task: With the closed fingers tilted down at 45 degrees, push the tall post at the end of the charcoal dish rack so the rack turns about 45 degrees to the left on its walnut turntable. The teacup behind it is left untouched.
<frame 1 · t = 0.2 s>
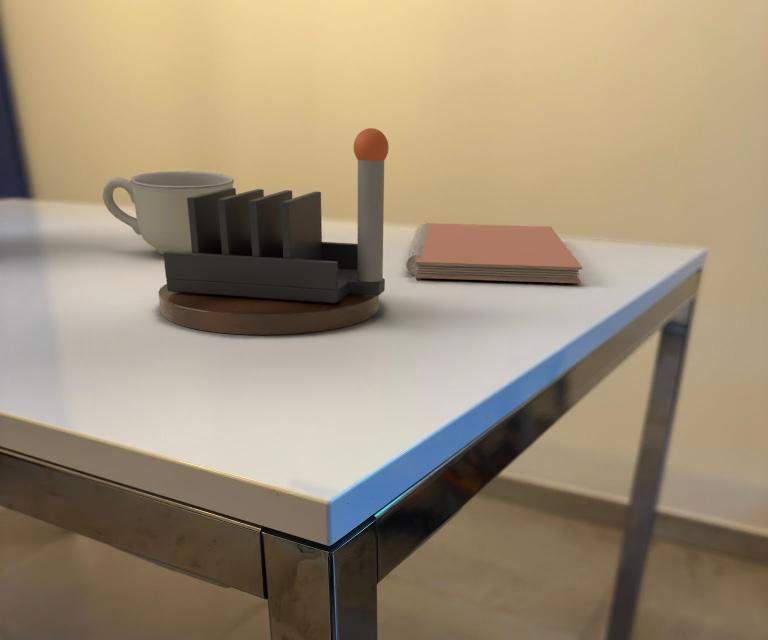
notebook: (486, 259, 87), on the table
turntable: (271, 306, 65), on the table
teacup: (176, 254, 87), on the table
dish rack: (283, 209, 61), point 8 cm above the table, hinge at 0.0°
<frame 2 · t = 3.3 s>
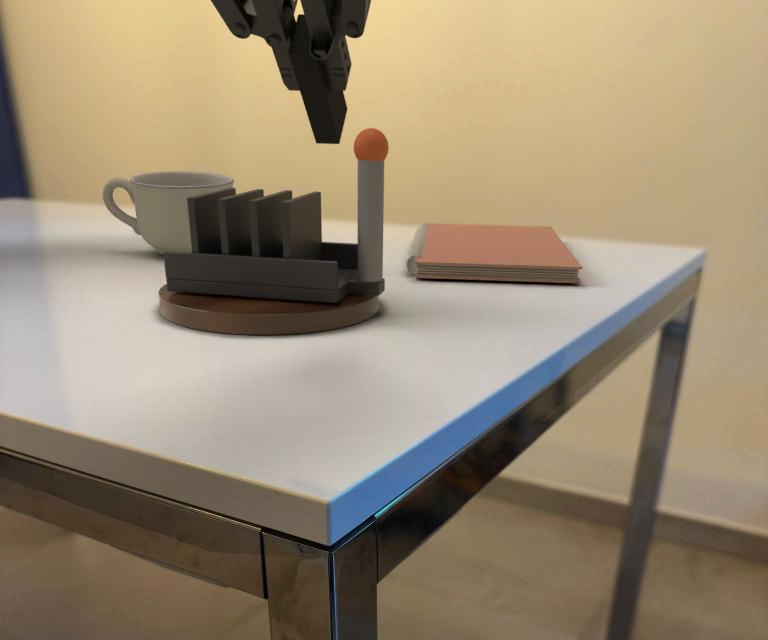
hand: (331, 125, 48), 14 cm above the table, tool tilted 45°, fingers closed
nothing on the table moved.
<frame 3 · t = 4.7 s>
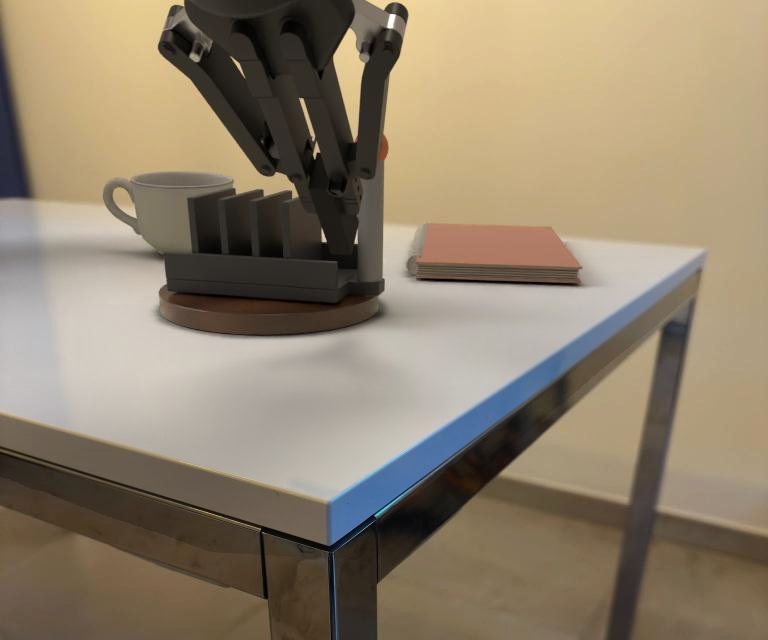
hand: (344, 237, 54), 7 cm above the table, tool tilted 45°, fingers closed
nothing on the table moved.
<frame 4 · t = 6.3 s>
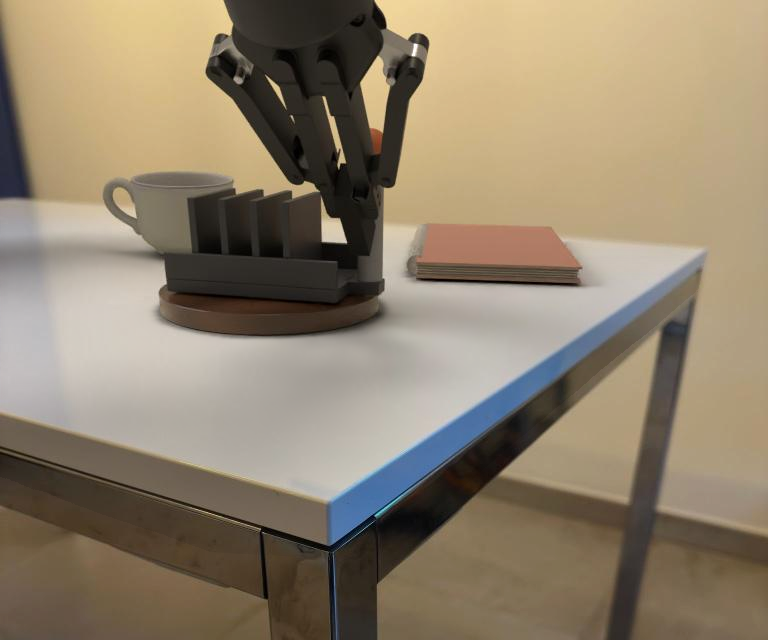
hand: (363, 240, 59), 6 cm above the table, tool tilted 45°, fingers closed
dish rack: (283, 209, 61), point 8 cm above the table, hinge at 0.0°, touching gripper
everything else where it was.
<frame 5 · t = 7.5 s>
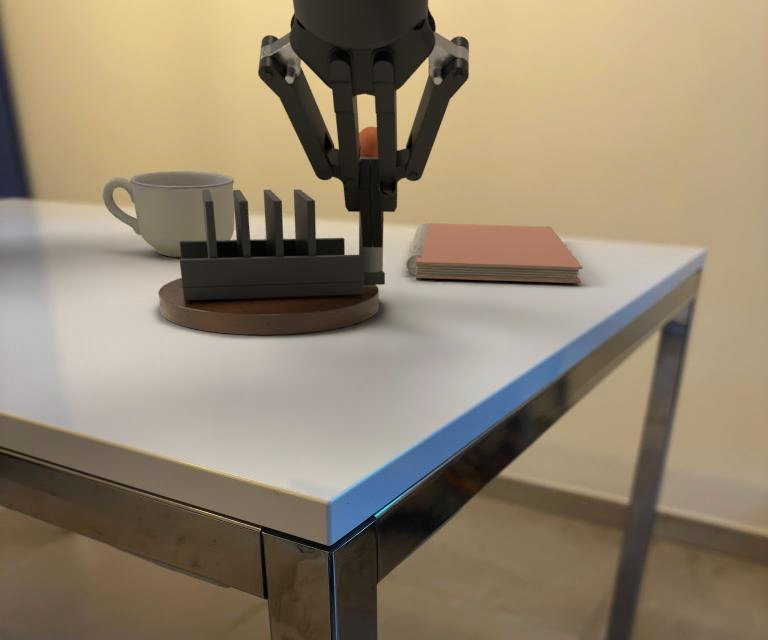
hand: (373, 232, 62), 6 cm above the table, tool tilted 45°, fingers closed
dish rack: (284, 208, 62), point 8 cm above the table, hinge at 26.4°, touching gripper
everything else where it was.
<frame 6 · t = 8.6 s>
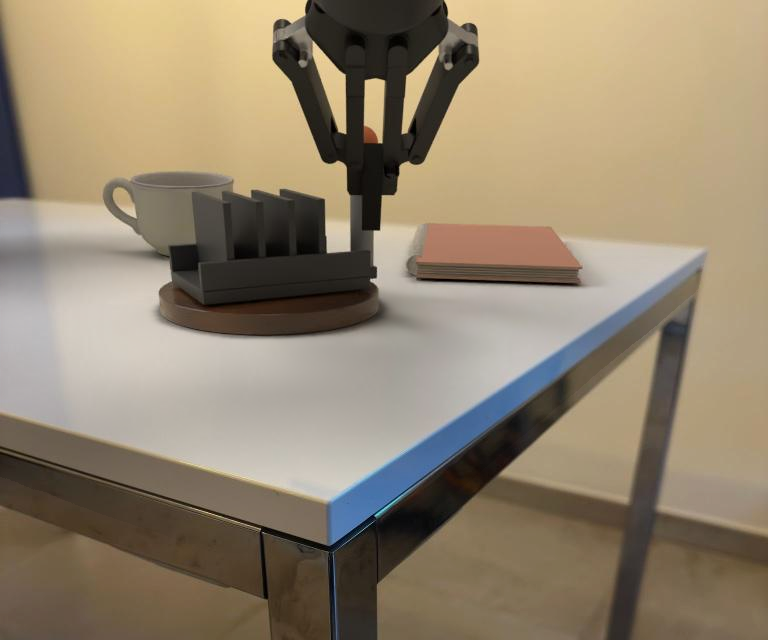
hand: (370, 216, 63), 7 cm above the table, tool tilted 45°, fingers closed
dish rack: (283, 208, 62), point 8 cm above the table, hinge at 41.8°
everything else where it was.
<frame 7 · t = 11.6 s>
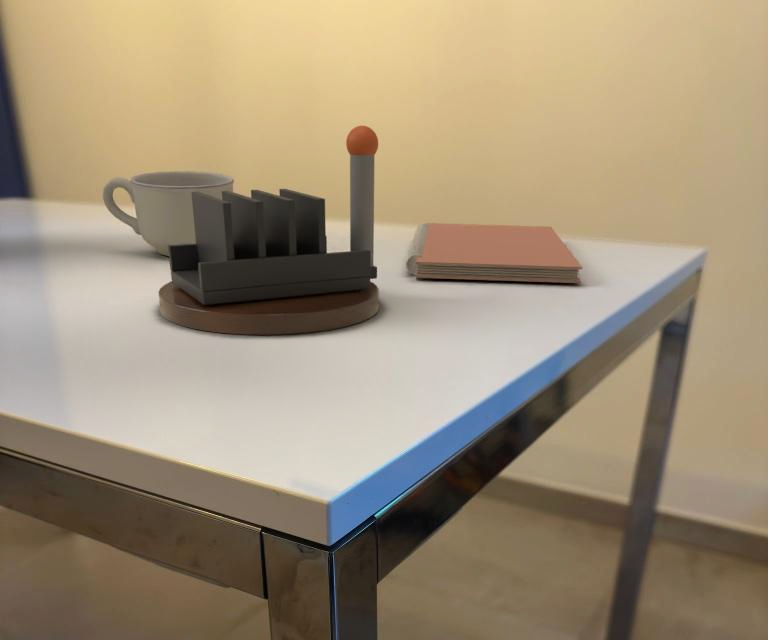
nothing on the table moved.
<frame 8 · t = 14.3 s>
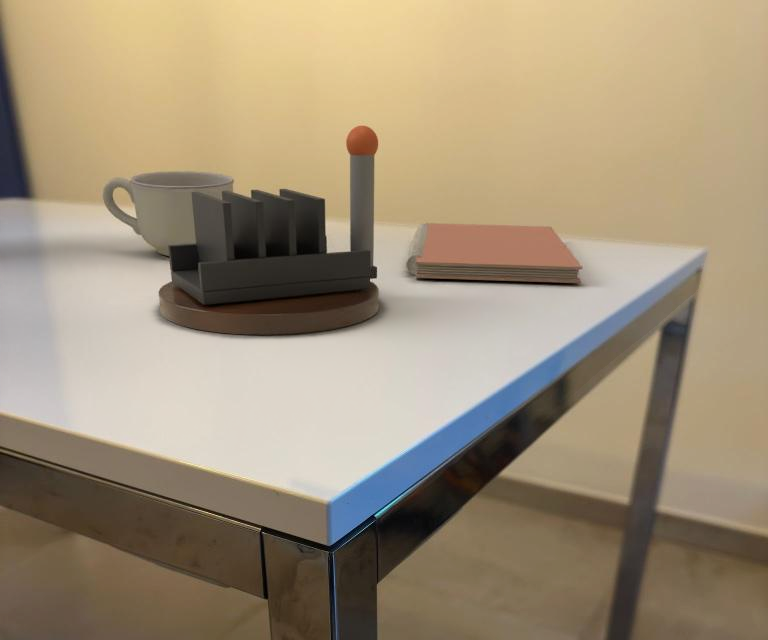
nothing on the table moved.
at the end: dish rack at +42° (first picture: +0°); teacup moved 0.2 cm from its start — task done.
